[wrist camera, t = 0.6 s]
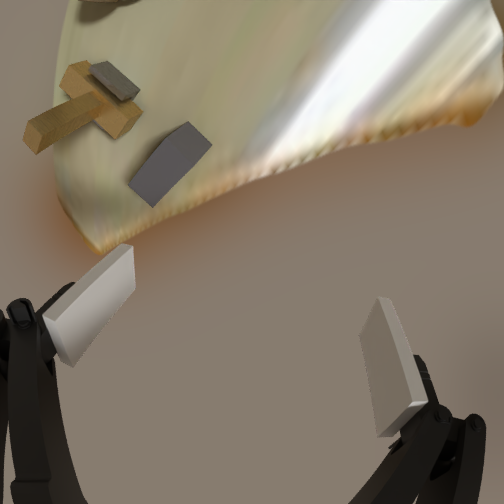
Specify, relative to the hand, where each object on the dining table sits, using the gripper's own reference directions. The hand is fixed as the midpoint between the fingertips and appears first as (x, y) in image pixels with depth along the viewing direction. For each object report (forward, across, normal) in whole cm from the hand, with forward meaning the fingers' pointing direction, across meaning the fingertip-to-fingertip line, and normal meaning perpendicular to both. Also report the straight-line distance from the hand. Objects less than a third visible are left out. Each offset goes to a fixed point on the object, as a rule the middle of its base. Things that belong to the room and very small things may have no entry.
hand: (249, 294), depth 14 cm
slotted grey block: (+28, -15, +2) cm, 32 cm away
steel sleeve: (+26, -27, +11) cm, 39 cm away
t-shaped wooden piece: (+24, -27, +11) cm, 38 cm away
